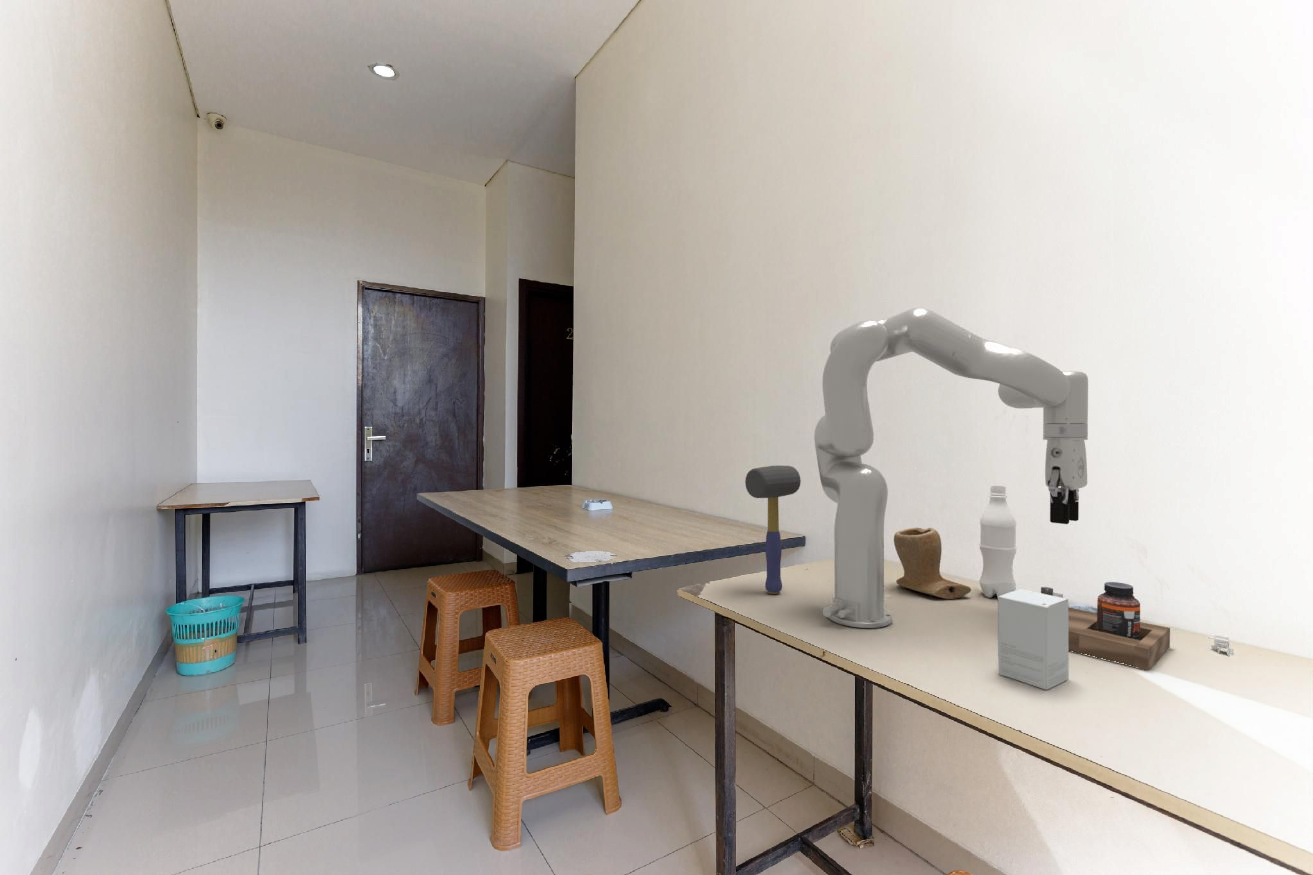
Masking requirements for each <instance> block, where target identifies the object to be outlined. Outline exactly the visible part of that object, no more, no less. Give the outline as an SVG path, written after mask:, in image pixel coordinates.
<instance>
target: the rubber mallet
mask: <svg viewBox="0 0 1313 875" xmlns="http://www.w3.org/2000/svg"><path fill="white" fill-rule="evenodd" d="M801 481H802V480H801V476H800V473H799V471H798V470H797V469H796V468H795V467H794V466H790V465H768V466H761V467H755V468H751V469H750V470H749V471H748V472H747V473H746V476H745V481H744V484H745V489H746V491H747V493H748V494H749V495H750V496H751V497H753V498H755V499H767V532H766V536H765V560H766V579H765V585H764V588H765V589H766V590H765V591H767V593H768V594H770V595H771V594H772V595H776V594H780V593H781V591H782V589H783V583H782V578H781V577H782V576H781V572H782V570H781V564H782V563H781V560H782V540H781V533H780V525H779V524H780V522H779V521H780V519H779V518H780V517H779V515H780V514H779V498H780V497H785V496H790V495H793V494H795V493H797V492H798V490H799V489H800V487H801Z"/></svg>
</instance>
